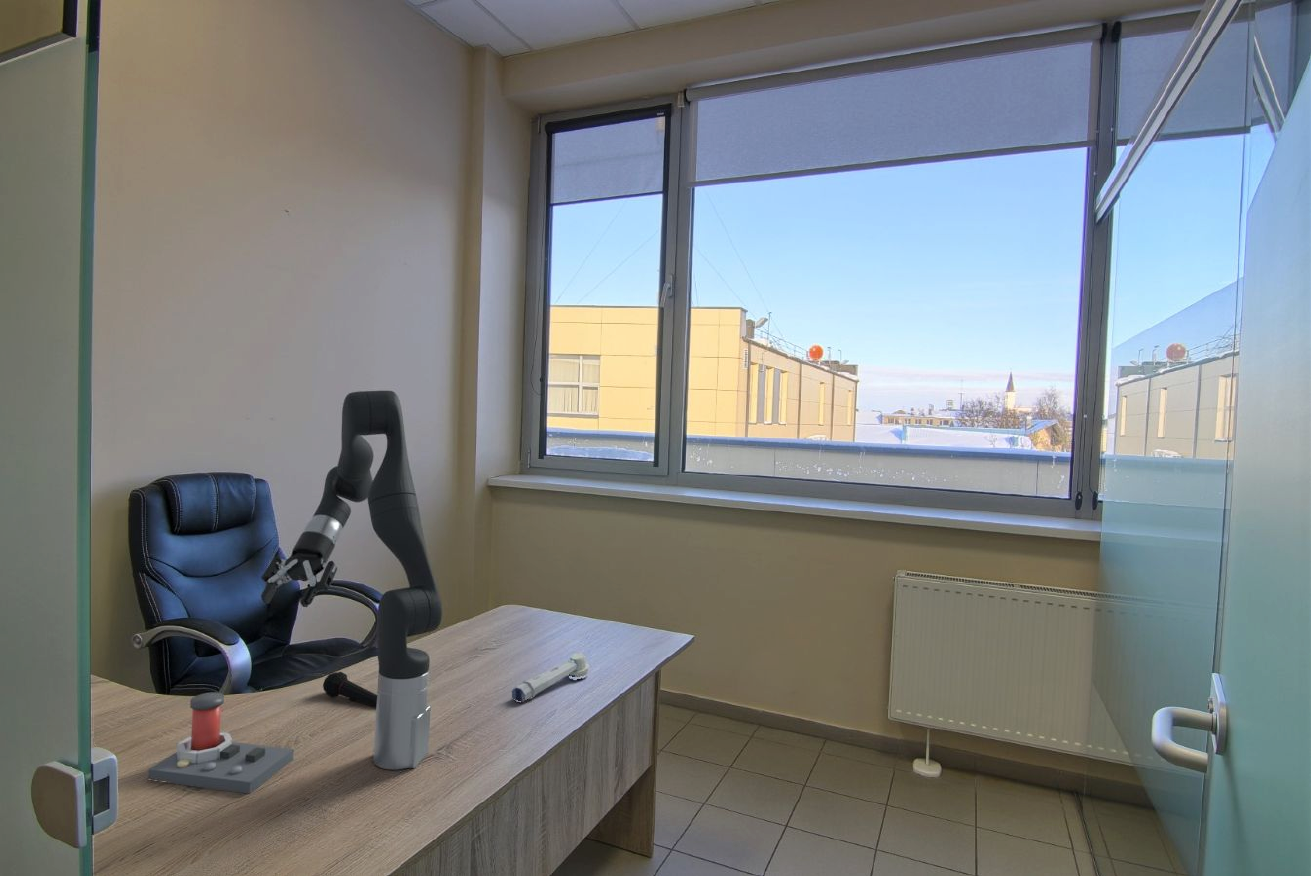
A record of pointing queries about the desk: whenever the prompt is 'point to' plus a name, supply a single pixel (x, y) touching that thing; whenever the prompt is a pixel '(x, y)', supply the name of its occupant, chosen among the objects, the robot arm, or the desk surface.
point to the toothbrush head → (551, 677)
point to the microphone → (347, 689)
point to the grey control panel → (222, 765)
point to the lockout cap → (206, 720)
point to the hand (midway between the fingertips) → (284, 603)
